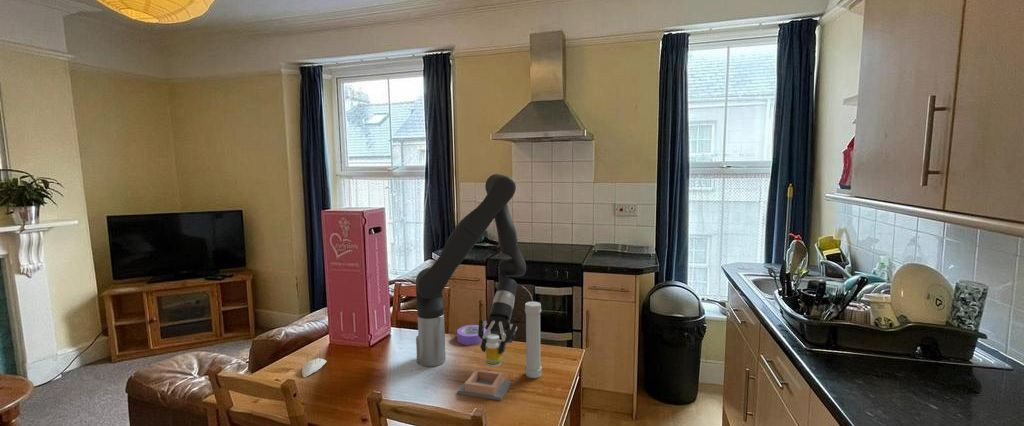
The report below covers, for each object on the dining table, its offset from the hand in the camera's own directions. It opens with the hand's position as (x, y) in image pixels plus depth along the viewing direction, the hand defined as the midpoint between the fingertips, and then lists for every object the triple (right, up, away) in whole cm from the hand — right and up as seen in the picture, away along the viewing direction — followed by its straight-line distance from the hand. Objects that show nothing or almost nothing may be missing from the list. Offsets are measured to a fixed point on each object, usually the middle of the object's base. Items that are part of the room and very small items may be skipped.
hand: (491, 352), depth 136 cm
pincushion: (-62, -8, +6) cm, 63 cm away
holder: (-2, -8, -9) cm, 12 cm away
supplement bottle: (+1, -5, +2) cm, 5 cm away
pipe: (+14, -8, 0) cm, 16 cm away
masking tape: (-10, -5, +30) cm, 31 cm away
